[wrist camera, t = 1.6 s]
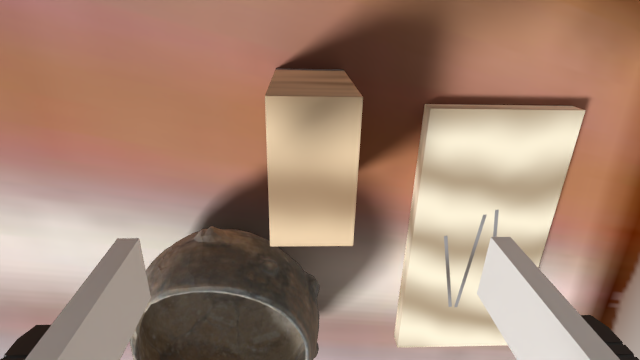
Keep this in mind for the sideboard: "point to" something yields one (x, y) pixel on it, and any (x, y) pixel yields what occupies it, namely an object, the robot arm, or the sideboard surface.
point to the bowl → (227, 302)
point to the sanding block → (312, 156)
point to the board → (477, 210)
